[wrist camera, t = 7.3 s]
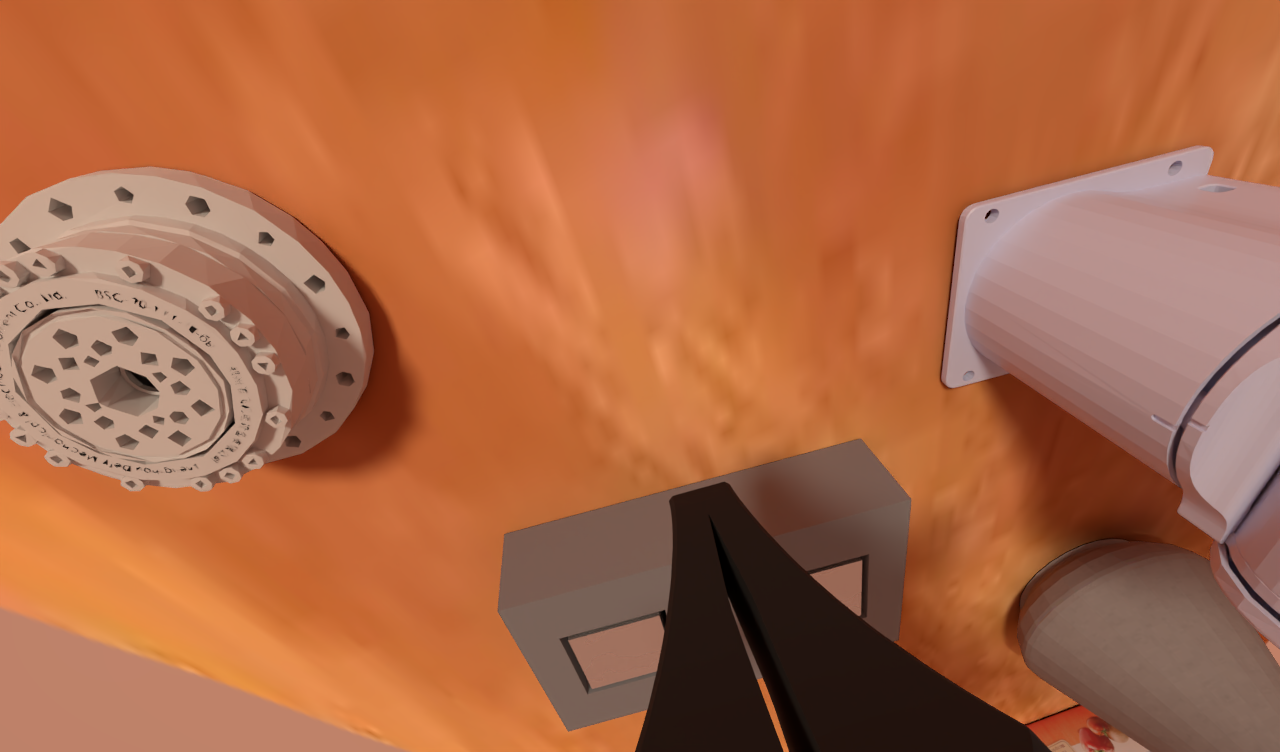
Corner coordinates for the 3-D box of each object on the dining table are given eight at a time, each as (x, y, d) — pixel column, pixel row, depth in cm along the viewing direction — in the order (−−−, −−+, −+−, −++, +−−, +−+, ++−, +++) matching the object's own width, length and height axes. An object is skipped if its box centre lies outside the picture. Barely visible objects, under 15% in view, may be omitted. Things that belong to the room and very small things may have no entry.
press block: (860, 438, 25) (911, 499, 21) (858, 574, 30) (898, 640, 26) (504, 534, 24) (497, 611, 21) (565, 654, 29) (568, 731, 26)
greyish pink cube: (645, 547, 26) (659, 615, 23) (660, 597, 28) (675, 666, 25) (565, 569, 26) (568, 640, 22) (586, 617, 28) (592, 689, 25)
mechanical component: (206, 479, 21) (433, 379, 20) (129, 571, 17) (406, 452, 16) (-63, 250, 16) (230, 105, 15) (-259, 310, 12) (121, 118, 11)
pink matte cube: (823, 499, 26) (862, 560, 23) (825, 552, 28) (860, 615, 25) (744, 520, 26) (772, 584, 23) (752, 572, 28) (779, 637, 25)
